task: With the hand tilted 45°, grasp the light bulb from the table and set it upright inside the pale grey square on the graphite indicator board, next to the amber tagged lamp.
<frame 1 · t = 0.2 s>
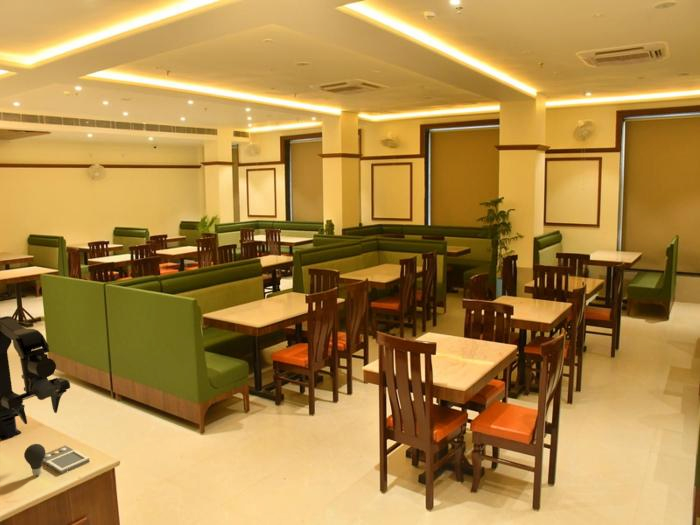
hand: (40, 418, 182), 14 cm above the table, tool pointing down, fingers open, 9 cm apart
indicator board: (63, 460, 183), on the table
light bulb: (37, 475, 175), on the table
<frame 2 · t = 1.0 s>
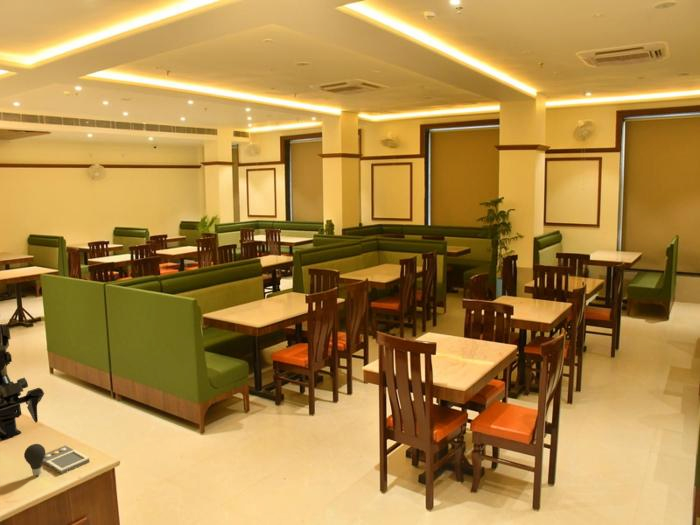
hand: (21, 427, 177), 13 cm above the table, tool tilted 45°, fingers open, 9 cm apart
nothing on the table moved.
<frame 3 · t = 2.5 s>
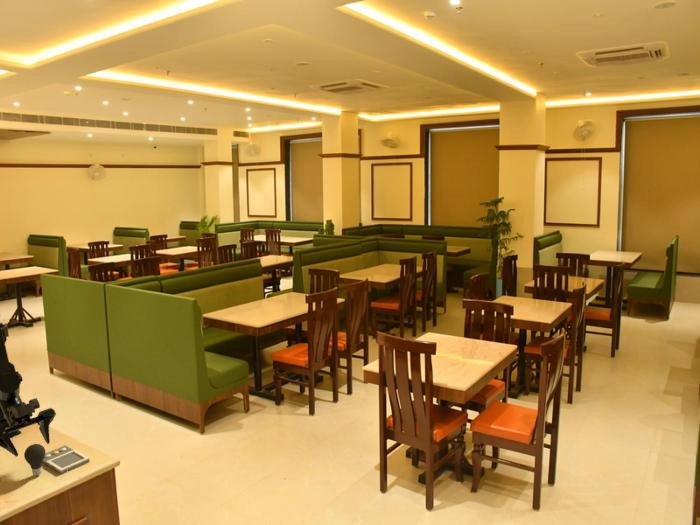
hand: (33, 449, 174), 8 cm above the table, tool tilted 45°, fingers open, 9 cm apart
nothing on the table moved.
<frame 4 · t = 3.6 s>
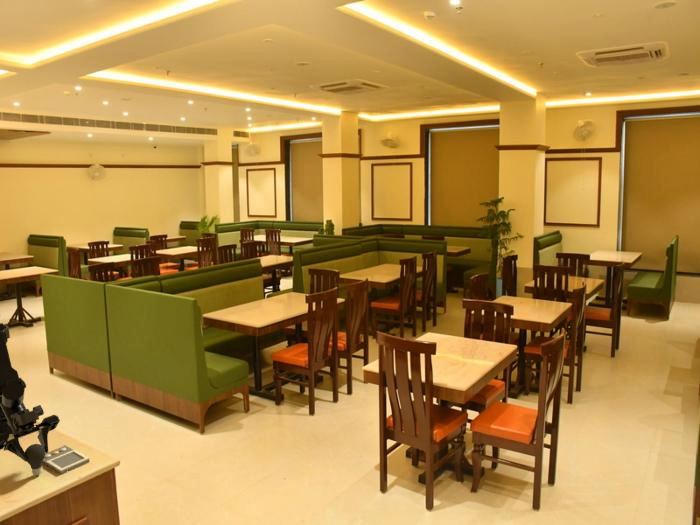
hand: (37, 456, 173), 7 cm above the table, tool tilted 45°, fingers closed on light bulb, 6 cm apart
light bulb: (37, 475, 175), on the table, touching gripper
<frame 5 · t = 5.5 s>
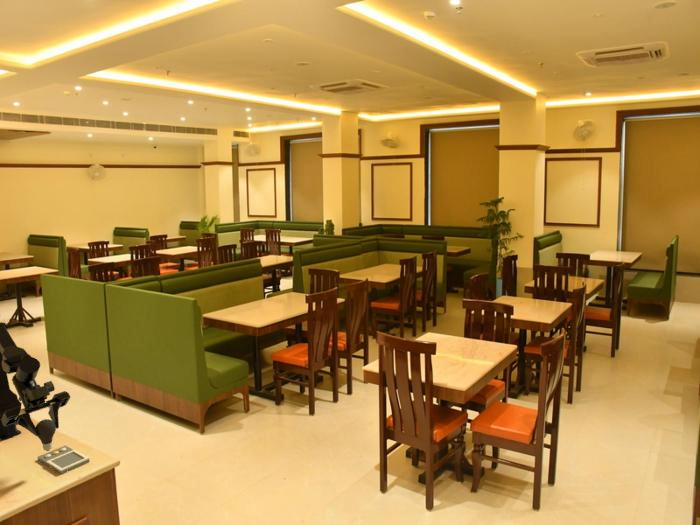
hand: (47, 431, 174), 13 cm above the table, tool tilted 45°, fingers closed on light bulb, 6 cm apart
light bulb: (48, 451, 177), point 6 cm above the table, touching gripper
when the fingers open (8 cm above the table, at t = 7.6 s): light bulb stays where it is, resting on indicator board.
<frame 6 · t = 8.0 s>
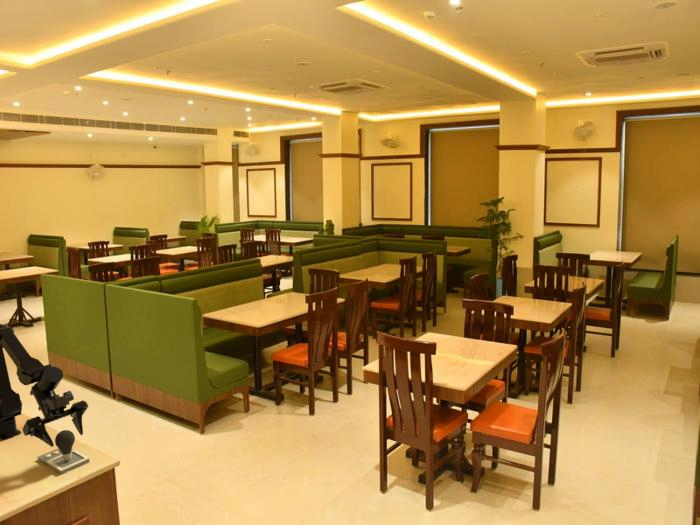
hand: (67, 440, 179), 8 cm above the table, tool tilted 45°, fingers open, 9 cm apart
light bulb: (67, 461, 181), point 1 cm above the table, touching indicator board
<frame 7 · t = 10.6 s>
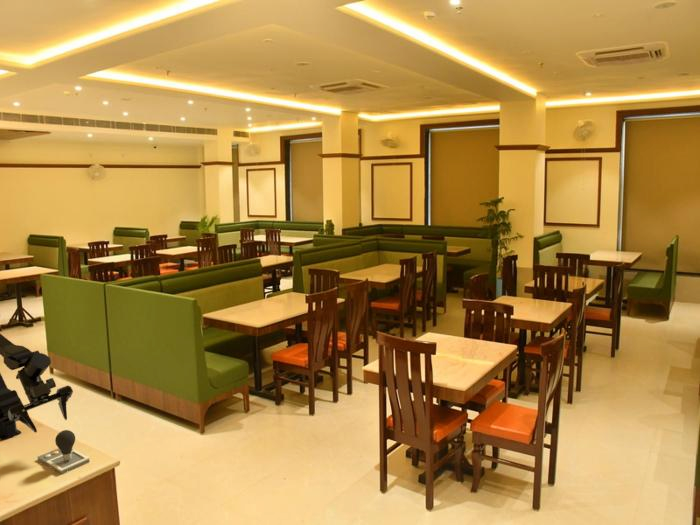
hand: (51, 425, 184), 11 cm above the table, tool tilted 40°, fingers open, 9 cm apart
nothing on the table moved.
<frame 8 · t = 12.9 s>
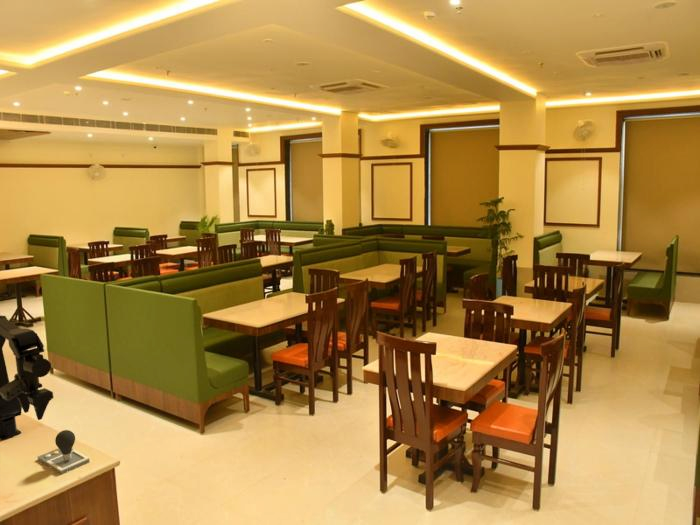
hand: (33, 415, 186), 13 cm above the table, tool pointing down, fingers open, 9 cm apart
nothing on the table moved.
at the end: light bulb 0.2 cm from the target spot on the indicator board, point 0.8 cm above the indicator board's base; light bulb tilted 0°; the gripper is holding nothing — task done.
